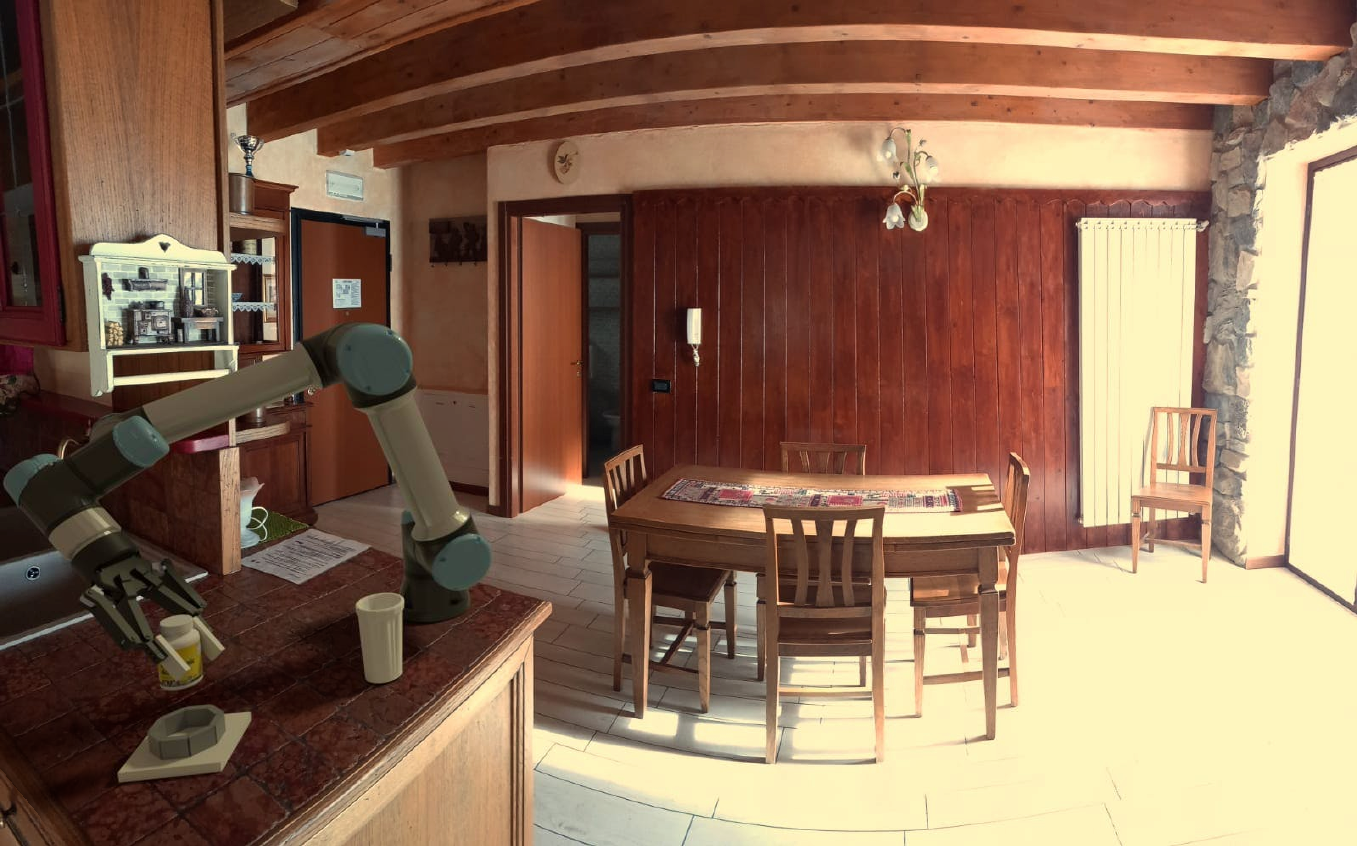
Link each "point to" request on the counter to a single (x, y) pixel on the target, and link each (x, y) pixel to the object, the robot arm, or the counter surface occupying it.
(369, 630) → the cup
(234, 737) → the holder
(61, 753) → the counter surface
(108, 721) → the counter surface
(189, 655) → the supplement bottle
